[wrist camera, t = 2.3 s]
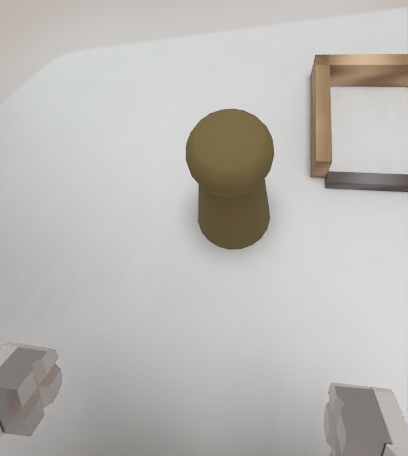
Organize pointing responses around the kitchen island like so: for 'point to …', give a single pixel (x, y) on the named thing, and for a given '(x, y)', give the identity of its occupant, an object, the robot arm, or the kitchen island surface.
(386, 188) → the bay
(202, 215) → the cork
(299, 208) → the kitchen island surface
